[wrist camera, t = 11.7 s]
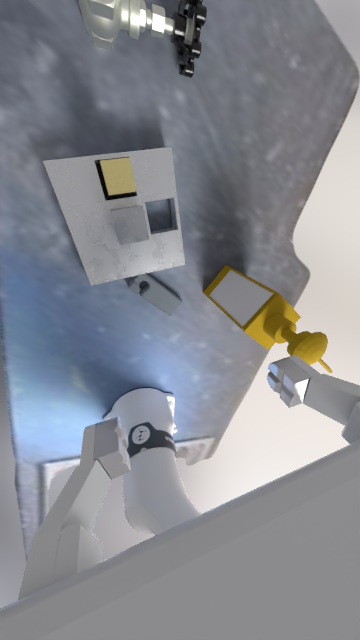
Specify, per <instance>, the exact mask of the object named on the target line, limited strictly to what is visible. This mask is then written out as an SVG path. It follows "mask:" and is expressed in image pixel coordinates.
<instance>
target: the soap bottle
mask: <svg viewBox="0 0 360 640" xmlns="http://www.w3.org/2000/svg"><path fill="white" fill-rule="evenodd" d="M203 293H204V294H205V295H206V296H207V297H208V298H209V299H211V300H212V301H213V302H214V303H215V304H216V305H217V306H218V307H219V308H220V309H221V310H222V311H223V312H224V313H225V314H226V315H227V316H228V317H229V318H230V319H231V320H233V321H234V322H235V323H236V324H237V325H238V326H239V327H240V328H241V329H242V330H243V331H244V332H245V333H247V334H248V335H249V336H251V337H252V338H253V339H255V340H256V341H257V342H259V343H260V344H261V345H263V346H264V347H265V348H266V349H268V350H269V349H270V348H271V347H272V346H273V345H274V343H276V342H277V343H284V342H288V343H289V345H288V347H287V351H288V353H289V354H290V355H291V356H293V355H296V356H298V357H300V358H301V359H302V360H303V361H305V362H306V363H307V364H308V365H311V364H313V363H315V362H316V361H318V362H319V363H320V364H321V365H322V366H323V367H325V369H327V371H328V372H330V373H332V370H331V369H330V368H329V367H328V366H327V364H326V363H325V362H323V360H321V357H322V356H323V354H324V353H325V351H326V348H327V343H328V339H327V337H326V335H325V334H323V333H321V332H315V333H310V332H308V331H305V332H301V333H299V334H296V333H295V331H296V325H295V323H296V321H297V320H298V319H300V316H299V315H298V314H297V312H296V311H295V310H294V309H293V308H292V307H291V306H290V305H289V304H288V302H287V301H286V300H285V299H284V298H283V297H282V296H281V295H280V294H279V293H277V292H276V291H274V290H272V289H270V288H268V287H266V286H265V285H263V284H261V283H259V282H257V281H255V280H253V279H252V278H250V277H248V276H246V275H244V274H242V273H240V272H239V271H237V270H235V269H233V268H231V267H229V266H227V265H225V266H224V268H223V269H222V270H221V271H220V272H219V274H218V275H217V276H216V277H215V278H214V280H213V281H212V282H211V283H210V284H209V286H208V287H207V288H206V289H205V290H204V292H203Z"/></svg>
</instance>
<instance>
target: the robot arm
mask: <svg viewBox="0 0 360 640" xmlns="http://www.w3.org/2000/svg"><path fill="white" fill-rule="evenodd" d="M268 369H269V370H270V372H269V373H268V376H267V380H268V383H269V385H270V387H271V388H272V389H273V390H274V391H275V392H278V393H280V398H281V399H282V400H283V401H284V403H285V404H286V405H287V406H288V407H289V408H290V407H293V406H295V405H298V404H301V403H304V404H305V405H307V406H309V407H311V408H313V409H315V410H317V411H318V412H320V413H322V414H324V415H326V416H328V417H330V418H332V419H333V420H335V421H337V422H339V423H341V424H343V425H345V427H344V429H343V431H342V436H343V438H345V440H346V441H347V442H349V444H350V445H348V446H346V447H344V448H342V449H340V450H338V451H336V452H333V453H331V454H329V455H327V456H325V457H323V458H321V459H319V460H316V461H314V462H312V463H310V464H308V465H306V466H304V467H301V468H299V469H297V470H295V471H293V472H291V473H289V474H286V475H285V476H282V477H280V478H278V479H276V480H274V481H272V482H269V483H267V484H265V485H263V486H261V487H259V488H257V489H254V490H252V491H251V492H248V493H246V494H244V495H242V496H240V497H237V498H235V499H233V500H231V501H229V502H227V503H225V504H222V505H220V506H218V507H216V508H214V509H212V510H210V511H208V512H205V513H203V514H201V513H200V512H199V511H198V509H197V508H196V507H195V506H194V504H193V503H192V501H191V500H190V498H189V496H188V494H187V491H186V489H185V486H184V483H183V481H182V478H181V475H180V471H179V468H178V465H177V461H176V458H175V457H176V450H175V444H174V441H173V438H172V434H173V433H176V432H177V428H176V423H175V421H174V419H173V417H174V403H175V397H174V395H173V394H170V393H163V392H161V391H159V390H157V389H152V388H141V389H136V390H133V391H131V392H128V393H126V394H125V395H123V396H122V397H120V398H119V399H118V400H117V401H116V402H115V404H114V405H113V408H112V410H111V411H110V412H109V413H108V414H107V415H106V416H105V417H104V421H103V422H100V423H97V424H94V425H91V426H88V427H85V430H84V434H83V443H82V451H81V460H80V466H78V467H76V469H75V470H74V472H73V474H72V475H71V477H70V479H69V480H68V482H67V483H66V485H65V487H64V488H63V490H62V492H61V493H60V495H59V497H58V498H57V500H56V501H55V503H54V505H53V507H52V508H51V510H50V511H49V513H48V514H47V516H46V518H45V519H44V521H43V523H42V524H41V526H40V528H39V529H38V531H37V532H36V534H35V536H34V537H33V539H32V542H31V546H30V551H29V555H28V559H27V563H26V568H25V572H24V577H23V581H22V585H21V589H20V594H19V598H18V600H17V601H16V602H13V603H11V604H9V605H7V606H5V607H3V608H0V640H360V386H359V385H356V384H353V383H350V382H347V381H344V380H341V379H338V378H335V377H332V376H328V375H326V374H320V373H318V372H317V371H316V370H315V369H313V368H312V367H311V366H310V365H308V364H307V363H306V362H305V361H303V360H302V359H301V358H300V357H298V356H296V355H293V356H290V357H287V358H284V359H281V360H278V361H275V362H273V363H270V364H269V368H268ZM121 475H122V478H123V495H124V512H125V516H126V519H127V521H128V522H129V524H130V526H132V528H133V529H135V530H136V531H138V532H141V533H145V534H150V535H155V536H154V537H152V538H150V539H148V540H146V541H143V542H141V543H139V544H137V545H135V546H133V547H131V548H128V549H127V550H125V551H122V552H120V553H118V554H116V555H114V556H112V557H109V558H107V559H105V560H103V544H102V543H101V542H100V541H99V540H98V539H97V538H96V537H94V536H93V535H92V534H91V533H92V530H93V528H94V525H95V523H96V520H97V517H98V515H99V512H100V510H101V507H102V505H103V502H104V500H105V497H106V495H107V492H108V489H109V487H110V484H111V482H112V480H111V479H113V478H116V477H118V476H121Z"/></svg>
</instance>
